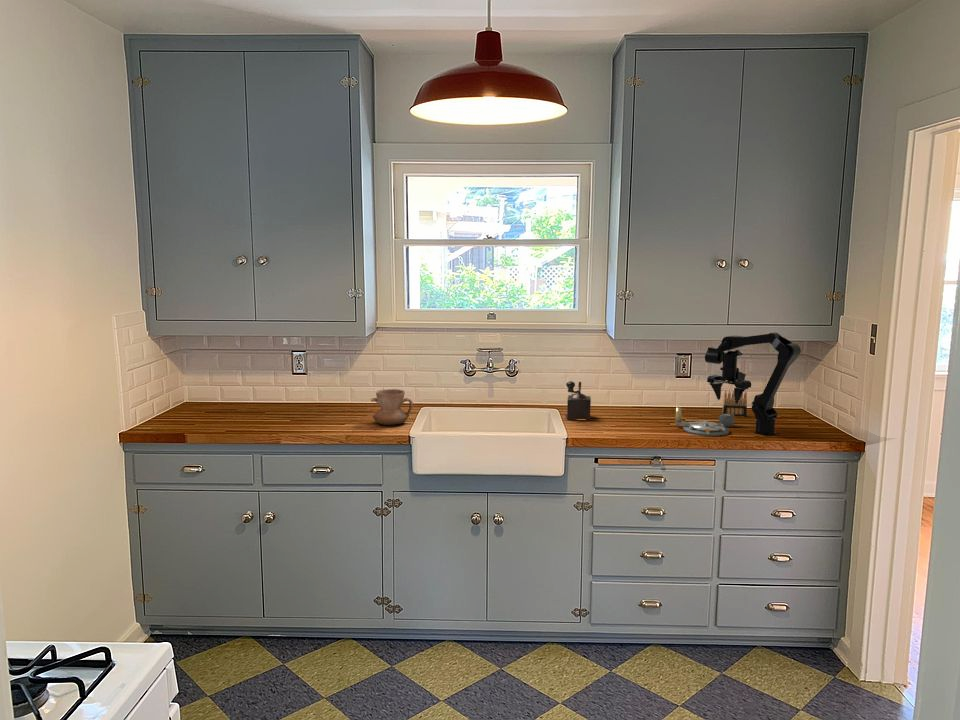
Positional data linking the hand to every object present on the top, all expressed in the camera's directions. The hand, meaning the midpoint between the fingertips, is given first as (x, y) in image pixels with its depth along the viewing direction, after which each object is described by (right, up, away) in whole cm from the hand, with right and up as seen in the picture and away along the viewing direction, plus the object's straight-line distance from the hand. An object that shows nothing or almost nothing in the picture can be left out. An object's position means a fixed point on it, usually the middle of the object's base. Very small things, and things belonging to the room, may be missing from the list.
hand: (727, 401), depth 297 cm
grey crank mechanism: (-14, -10, -6) cm, 18 cm away
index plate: (-12, -12, -7) cm, 18 cm away
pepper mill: (-62, -9, +14) cm, 64 cm away
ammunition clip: (+10, -8, +21) cm, 25 cm away
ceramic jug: (-144, -10, +3) cm, 144 cm away
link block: (0, -11, +2) cm, 11 cm away
